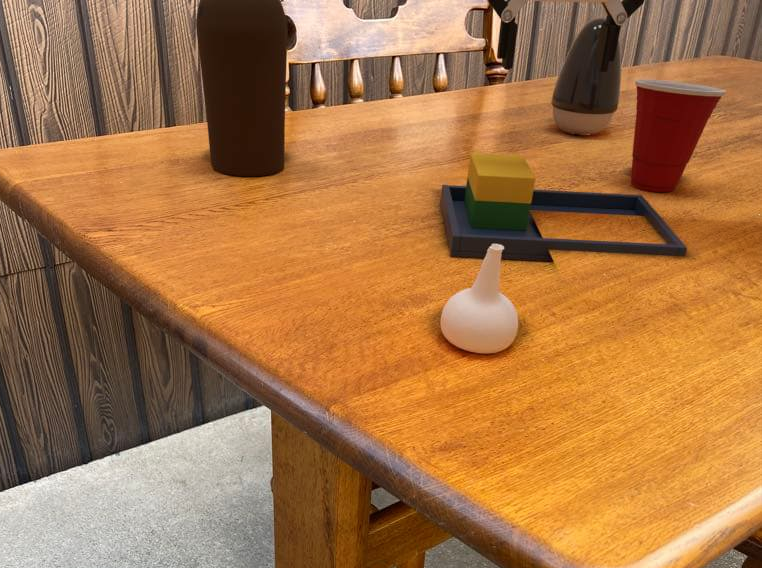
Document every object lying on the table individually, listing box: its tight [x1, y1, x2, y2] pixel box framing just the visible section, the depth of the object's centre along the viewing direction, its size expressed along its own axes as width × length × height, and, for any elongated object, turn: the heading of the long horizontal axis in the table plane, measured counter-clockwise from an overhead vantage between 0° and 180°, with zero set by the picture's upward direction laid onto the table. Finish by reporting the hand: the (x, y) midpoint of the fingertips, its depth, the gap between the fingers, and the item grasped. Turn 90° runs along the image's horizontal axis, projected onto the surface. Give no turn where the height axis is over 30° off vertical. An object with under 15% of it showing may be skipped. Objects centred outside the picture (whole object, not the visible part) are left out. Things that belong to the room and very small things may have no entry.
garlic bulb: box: [440, 244, 519, 354], centre depth 62 cm, size 6×6×8 cm
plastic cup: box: [630, 78, 727, 193], centre depth 99 cm, size 11×11×12 cm
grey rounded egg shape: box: [550, 17, 622, 135], centre depth 120 cm, size 10×10×15 cm
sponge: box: [464, 152, 536, 231], centre depth 86 cm, size 9×6×5 cm, turn 179°
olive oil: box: [195, 0, 289, 177], centre depth 93 cm, size 11×11×25 cm
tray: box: [439, 184, 688, 263], centre depth 86 cm, size 24×18×2 cm
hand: (553, 68), depth 80 cm, fingers open, 9 cm apart
